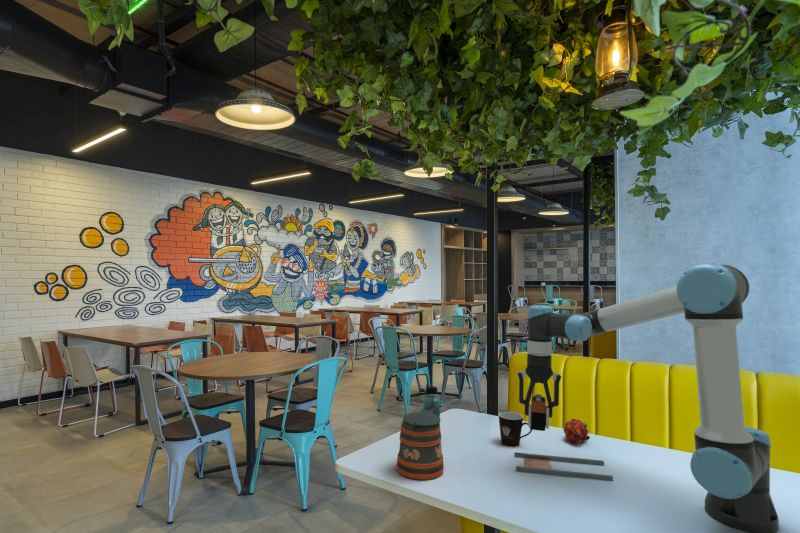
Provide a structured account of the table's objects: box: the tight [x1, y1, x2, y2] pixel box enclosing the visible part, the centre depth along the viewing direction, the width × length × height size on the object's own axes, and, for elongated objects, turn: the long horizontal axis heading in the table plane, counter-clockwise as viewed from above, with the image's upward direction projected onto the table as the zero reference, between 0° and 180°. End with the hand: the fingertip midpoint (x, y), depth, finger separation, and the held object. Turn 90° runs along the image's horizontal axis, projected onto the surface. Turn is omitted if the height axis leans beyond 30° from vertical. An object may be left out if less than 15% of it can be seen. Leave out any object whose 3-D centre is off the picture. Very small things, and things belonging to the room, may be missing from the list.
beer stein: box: [395, 398, 445, 481], centre depth 143 cm, size 19×15×20 cm
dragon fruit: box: [563, 418, 591, 445], centre depth 167 cm, size 8×8×12 cm
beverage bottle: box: [422, 385, 441, 425], centre depth 163 cm, size 6×7×20 cm
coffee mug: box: [498, 411, 533, 448], centre depth 162 cm, size 12×9×10 cm
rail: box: [513, 452, 614, 482], centre depth 144 cm, size 12×28×1 cm, turn 79°
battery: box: [530, 393, 547, 432], centre depth 145 cm, size 4×7×10 cm, turn 163°
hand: (538, 426), depth 145 cm, fingers closed on battery, 5 cm apart
